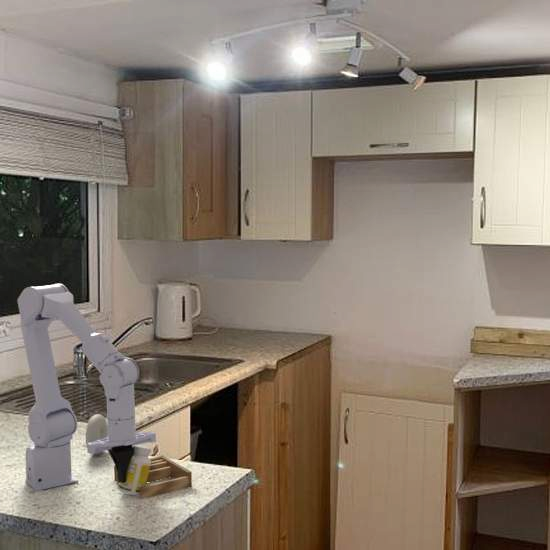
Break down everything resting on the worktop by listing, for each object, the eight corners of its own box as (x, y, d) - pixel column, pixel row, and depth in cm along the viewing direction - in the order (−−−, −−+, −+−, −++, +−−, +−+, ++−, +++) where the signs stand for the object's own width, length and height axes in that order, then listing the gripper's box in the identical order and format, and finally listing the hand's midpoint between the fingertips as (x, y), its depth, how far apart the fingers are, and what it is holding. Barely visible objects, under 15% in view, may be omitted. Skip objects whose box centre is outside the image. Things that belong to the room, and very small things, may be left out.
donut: (97, 447, 192) (96, 409, 191) (110, 448, 192) (109, 409, 191) (84, 460, 182) (82, 420, 181) (97, 460, 182) (96, 420, 181)
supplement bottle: (142, 491, 162) (153, 447, 164) (144, 497, 157) (155, 451, 158) (117, 487, 161) (129, 442, 162) (118, 492, 156) (130, 446, 157)
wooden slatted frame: (141, 499, 157) (140, 483, 156) (114, 480, 168) (114, 465, 168) (191, 487, 163) (191, 471, 163) (162, 469, 175) (162, 455, 175)
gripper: (94, 426, 150) (97, 493, 151) (161, 415, 158) (163, 478, 159) (82, 419, 156) (85, 484, 156) (147, 409, 164) (149, 470, 164)
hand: (123, 481), depth 158 cm, fingers closed, pressing on supplement bottle
